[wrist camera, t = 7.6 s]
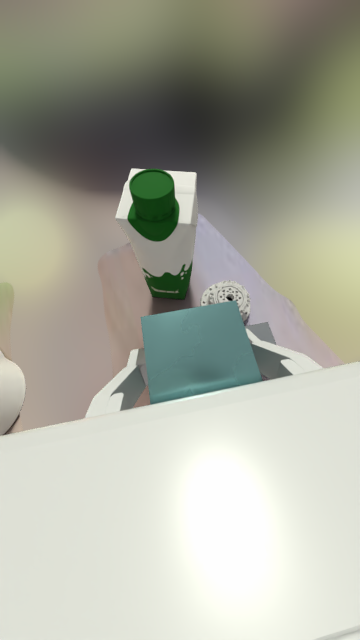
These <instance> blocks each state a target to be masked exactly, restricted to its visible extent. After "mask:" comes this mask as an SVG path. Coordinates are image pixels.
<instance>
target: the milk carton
mask: <svg viewBox="0 0 360 640" xmlns="http://www.w3.org/2000/svg"><path fill="white" fill-rule="evenodd" d="M115 218H116V221H117V222H118V224H119V225H120V227H121V229H122V230H123V231H124V233H125V235H126V236H127V238H128V239H129V241H130V244H131V246H132V249H133V251H134V253H135V256H136V258H137V260H138V263H139V265H140V268H141V270H142V272H143V275H144V277H145V280H146V282H147V285H148V287H149V289H150V292H151V294H152V297H161V298H171V299H181V300H184V299H185V295H186V292H187V289H188V285H189V281H190V276H191V271H192V263H193V254H194V245H195V236H196V226H197V219H198V207H197V195H196V173H194V172H178V171H163V170H160V169H131V172H130V175H129V178H128V181H127V182H126V183H125V185H124V189H123V194H122V197H121V200H120V204H119V207H118V210H117V214H116V217H115Z"/></svg>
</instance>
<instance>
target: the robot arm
mask: <svg viewBox="0 0 360 640" xmlns="http://www.w3.org/2000/svg"><path fill="white" fill-rule="evenodd" d="M246 332H247V335H248V338H249V341H250V344H251V347H252V350H253V353H254V356H255V359H256V362H257V365H258V368H259V371H260V373H261V374H263V375H264V376H266V377H267V378H269V379H271V380H267V381H262V382H257V383H252V384H248V385H243V386H238V387H233V388H228V389H223V390H219V391H214V392H209V393H204V394H199V395H195V396H190V397H185V398H180V399H176V400H171V401H166V402H161V403H156V404H152V405H147V406H142V407H137V408H133V406H134V405H135V403H136V401H137V400H138V398H139V397H140V395H141V393H142V392H143V390H144V389H145V387H146V386H148V377H147V368H146V359H145V350H144V348H141V349H135V350H132V351H131V353H130V356H129V360H128V364H127V367H126V368H124V369H123V370H121V371H120V372H119V373H118V374H117V375H116V376H115V377H114V378H113V379H112V380H111V381H110V382H109V383H108V384H107V385H106V386H105V387H104V388H103V389H102V390H101V391H100V392H99V393H98V394H97V395H96V396H95V397H94V398H93V400H92V403H91V405H90V407H89V409H88V412H87V414H86V416H85V418H84V419H80V420H75V421H70V422H66V423H61V424H56V425H51V426H46V427H41V428H36V429H32V430H27V431H22V432H17V433H12V434H7V435H3V434H4V433H5V432H6V431H7V430H8V429H9V428H10V427H11V425H12V424H13V423H14V421H15V420H16V418H17V416H18V415H19V413H20V411H21V408H22V406H23V403H24V399H25V394H26V383H25V378H24V375H23V372H22V371H21V369H20V368H19V367H18V366H17V365H16V364H15V363H14V362H12V361H10V360H8V359H6V358H5V357H4V355H3V353H2V352H1V350H0V640H360V361H358V362H353V363H348V364H343V365H339V366H334V367H329V368H322V367H321V366H320V365H318V364H317V363H316V362H314V361H313V360H312V359H310V358H309V357H308V356H306V355H304V354H301V353H298V352H295V351H292V350H289V349H286V348H283V347H280V346H277V345H275V344H272V343H269V342H266V341H261V340H260V339H258V338H257V337H256V336H255V335H254V334H253V333H252V332H251V331H250V330H249V329H247V328H246ZM2 435H3V436H2Z"/></svg>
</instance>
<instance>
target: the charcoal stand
mask: <svg viewBox="0 0 360 640" xmlns="http://www.w3.org/2000/svg"><path fill="white" fill-rule="evenodd" d="M246 328H247V329H249V330H250V331H251V332H252V333H253V334H254V335H255V336H256V337H257V338H258V339H260V340H261V341H266V342H269V343H272V344H275V345H276V342H275V340H274V337H273V335H272V332H271V329H270V327H269V324H268V322H265V323H260V324H255V325H249V326H245V329H246Z"/></svg>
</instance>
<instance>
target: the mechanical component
mask: <svg viewBox="0 0 360 640" xmlns="http://www.w3.org/2000/svg"><path fill="white" fill-rule="evenodd" d="M228 299H229V300H230V301H234V300H236V302H237V305H238V308H239V311H240V314H241V317H242V320H243V322H244V321H245V320H246V319H247V317H248V315H249V312H250V298H249V294H248V293H247V291H246V290H245V288H244V286H241V285H240V284H238V283H236V282H235V281H233V282H231V281H230V280H229V281H223V282H220V283H217V284H214V285H212V286H210V287H209V288H208V289H207V290H206V291H205V292H204V294H203V296H202V299H201V306H206V305H211V304H217V303H223V302H228Z"/></svg>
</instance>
